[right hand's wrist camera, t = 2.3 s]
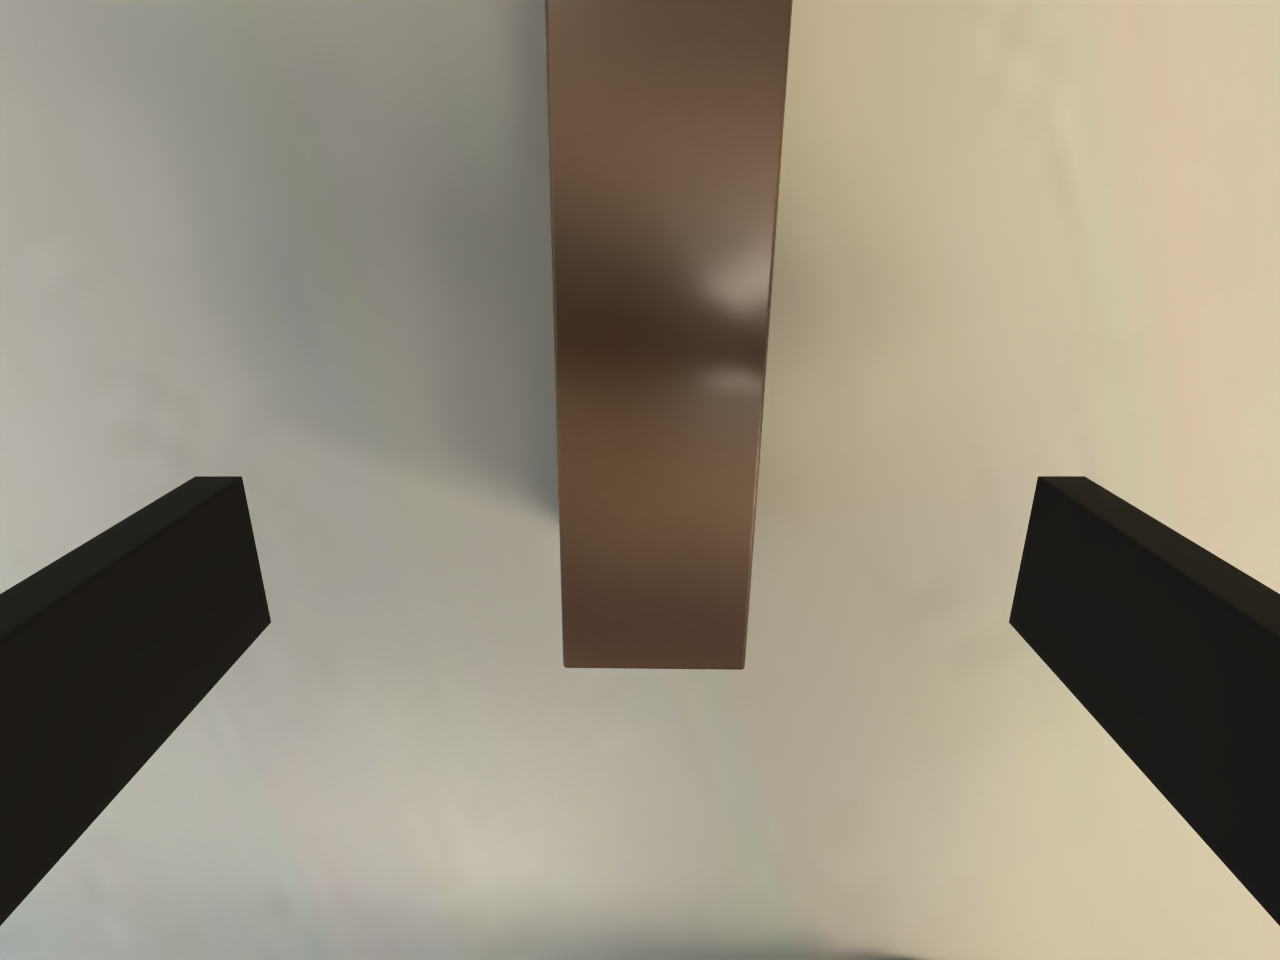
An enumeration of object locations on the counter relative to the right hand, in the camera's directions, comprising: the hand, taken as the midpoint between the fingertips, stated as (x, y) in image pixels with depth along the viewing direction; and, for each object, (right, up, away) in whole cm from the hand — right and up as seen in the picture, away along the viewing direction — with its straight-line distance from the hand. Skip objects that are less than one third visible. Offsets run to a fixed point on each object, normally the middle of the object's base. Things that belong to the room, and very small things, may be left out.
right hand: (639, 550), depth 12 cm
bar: (+1, +34, +2) cm, 34 cm away
